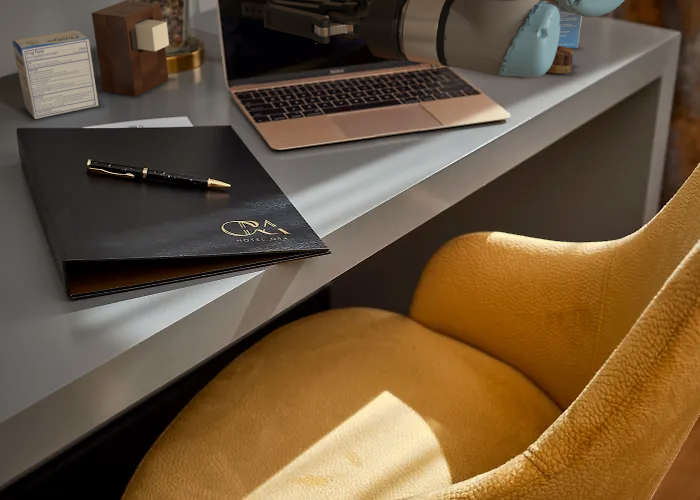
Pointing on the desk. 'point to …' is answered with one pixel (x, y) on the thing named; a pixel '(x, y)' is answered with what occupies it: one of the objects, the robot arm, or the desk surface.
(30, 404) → the desk surface
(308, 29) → the robot arm
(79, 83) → the medicine box
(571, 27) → the label tape box
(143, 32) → the ivory key
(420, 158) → the desk surface
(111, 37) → the key box
